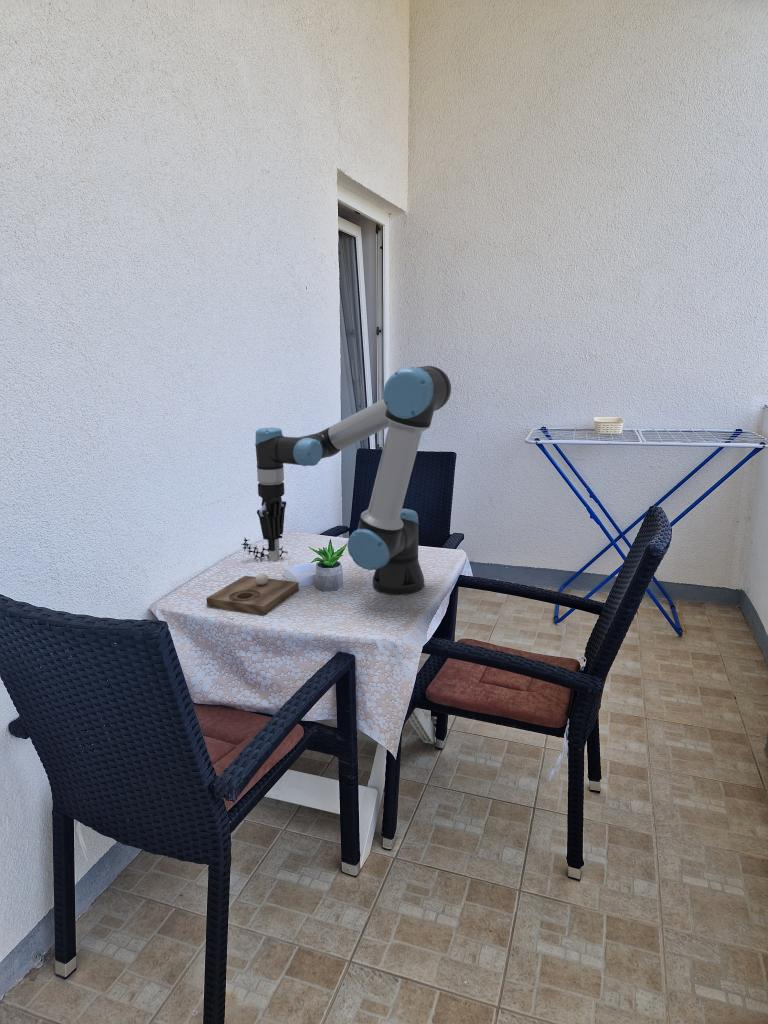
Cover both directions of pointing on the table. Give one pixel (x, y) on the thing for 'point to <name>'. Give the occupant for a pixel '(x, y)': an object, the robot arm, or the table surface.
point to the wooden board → (253, 595)
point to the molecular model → (257, 550)
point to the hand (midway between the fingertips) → (274, 560)
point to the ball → (261, 578)
